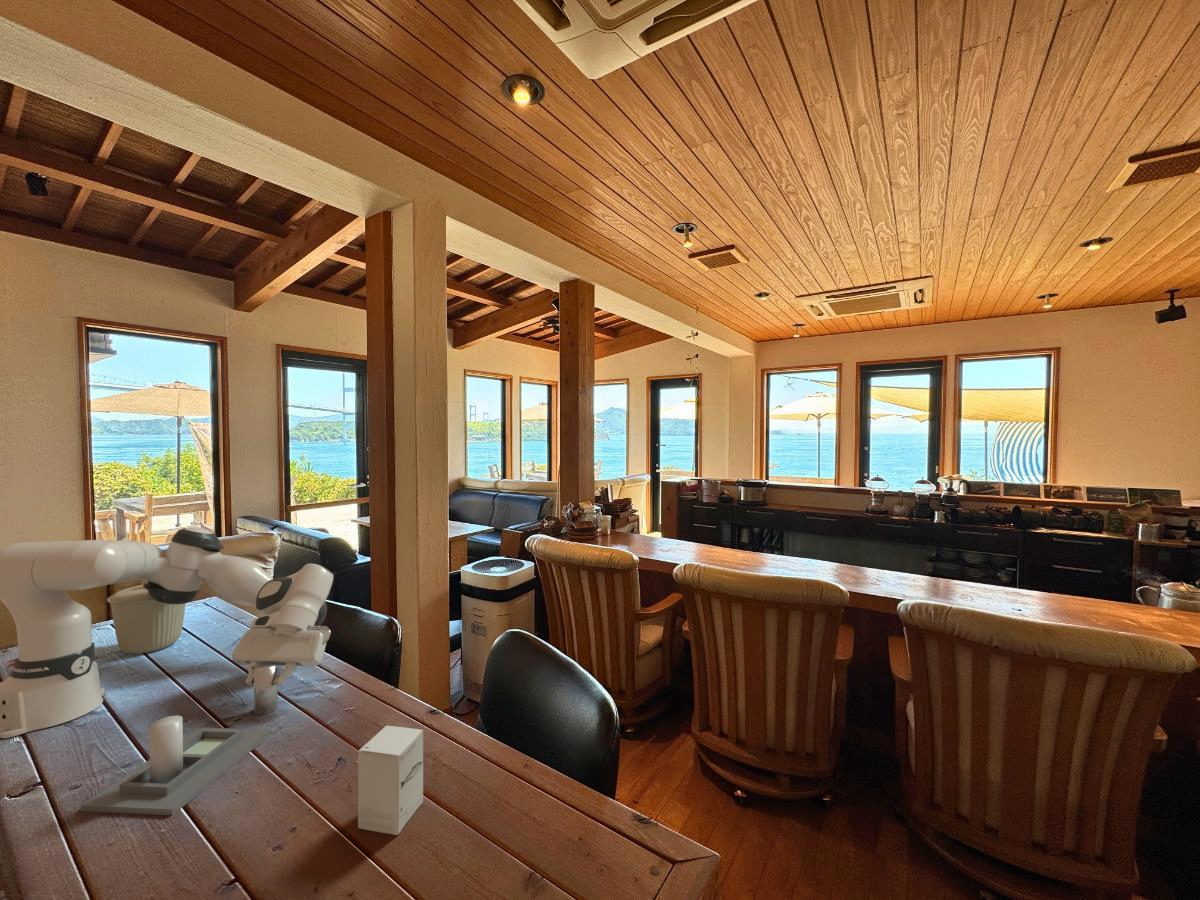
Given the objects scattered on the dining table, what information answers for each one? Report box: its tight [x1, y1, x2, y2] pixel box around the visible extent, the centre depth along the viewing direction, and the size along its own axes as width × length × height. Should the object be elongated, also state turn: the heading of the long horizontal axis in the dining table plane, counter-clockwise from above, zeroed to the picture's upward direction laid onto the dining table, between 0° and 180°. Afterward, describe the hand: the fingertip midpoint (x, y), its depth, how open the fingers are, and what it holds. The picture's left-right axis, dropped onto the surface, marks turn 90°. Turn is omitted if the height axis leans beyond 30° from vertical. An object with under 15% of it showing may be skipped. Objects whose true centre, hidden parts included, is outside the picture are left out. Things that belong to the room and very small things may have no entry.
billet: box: [253, 662, 279, 716], centre depth 111 cm, size 4×4×10 cm
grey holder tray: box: [80, 715, 272, 816], centre depth 91 cm, size 16×22×11 cm
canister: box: [106, 580, 186, 655], centre depth 145 cm, size 18×18×21 cm
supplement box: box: [357, 725, 424, 836], centre depth 79 cm, size 7×7×13 cm
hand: (263, 684), depth 110 cm, fingers open, 5 cm apart
